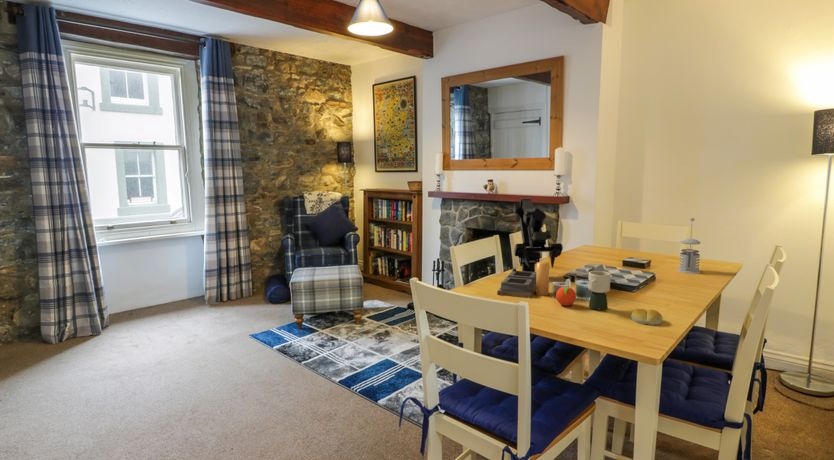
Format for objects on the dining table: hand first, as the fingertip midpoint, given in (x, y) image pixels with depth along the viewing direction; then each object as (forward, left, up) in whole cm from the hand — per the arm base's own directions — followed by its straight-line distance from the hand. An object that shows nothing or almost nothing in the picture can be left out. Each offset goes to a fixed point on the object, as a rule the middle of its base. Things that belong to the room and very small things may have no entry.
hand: (541, 267), depth 185 cm
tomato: (+16, +11, -10) cm, 22 cm away
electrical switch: (-14, +21, -10) cm, 28 cm away
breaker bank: (-3, -9, -10) cm, 14 cm away
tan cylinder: (+3, +1, -10) cm, 11 cm away
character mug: (+16, +22, -10) cm, 29 cm away
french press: (-56, +59, -10) cm, 82 cm away
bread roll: (+24, +37, -11) cm, 45 cm away
